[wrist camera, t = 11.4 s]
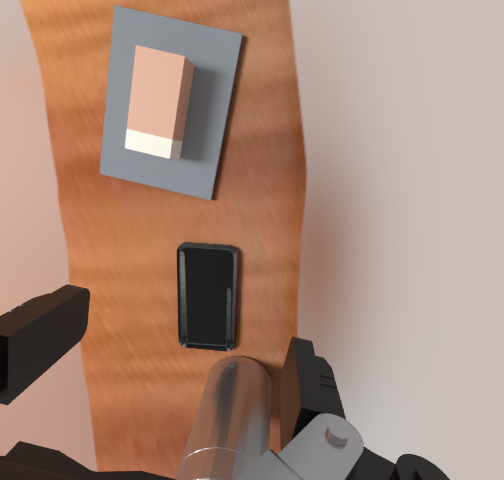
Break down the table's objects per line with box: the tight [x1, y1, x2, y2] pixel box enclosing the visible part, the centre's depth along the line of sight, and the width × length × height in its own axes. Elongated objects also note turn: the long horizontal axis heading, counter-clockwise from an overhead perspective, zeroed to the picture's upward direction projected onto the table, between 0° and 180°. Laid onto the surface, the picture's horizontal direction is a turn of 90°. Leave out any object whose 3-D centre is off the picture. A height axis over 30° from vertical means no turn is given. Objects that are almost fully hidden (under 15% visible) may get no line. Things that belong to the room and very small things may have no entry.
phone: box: [177, 242, 238, 351], centre depth 41 cm, size 8×1×15 cm
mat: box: [100, 5, 243, 200], centre depth 35 cm, size 18×14×1 cm
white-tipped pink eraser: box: [125, 45, 194, 159], centre depth 33 cm, size 10×5×4 cm, turn 167°
